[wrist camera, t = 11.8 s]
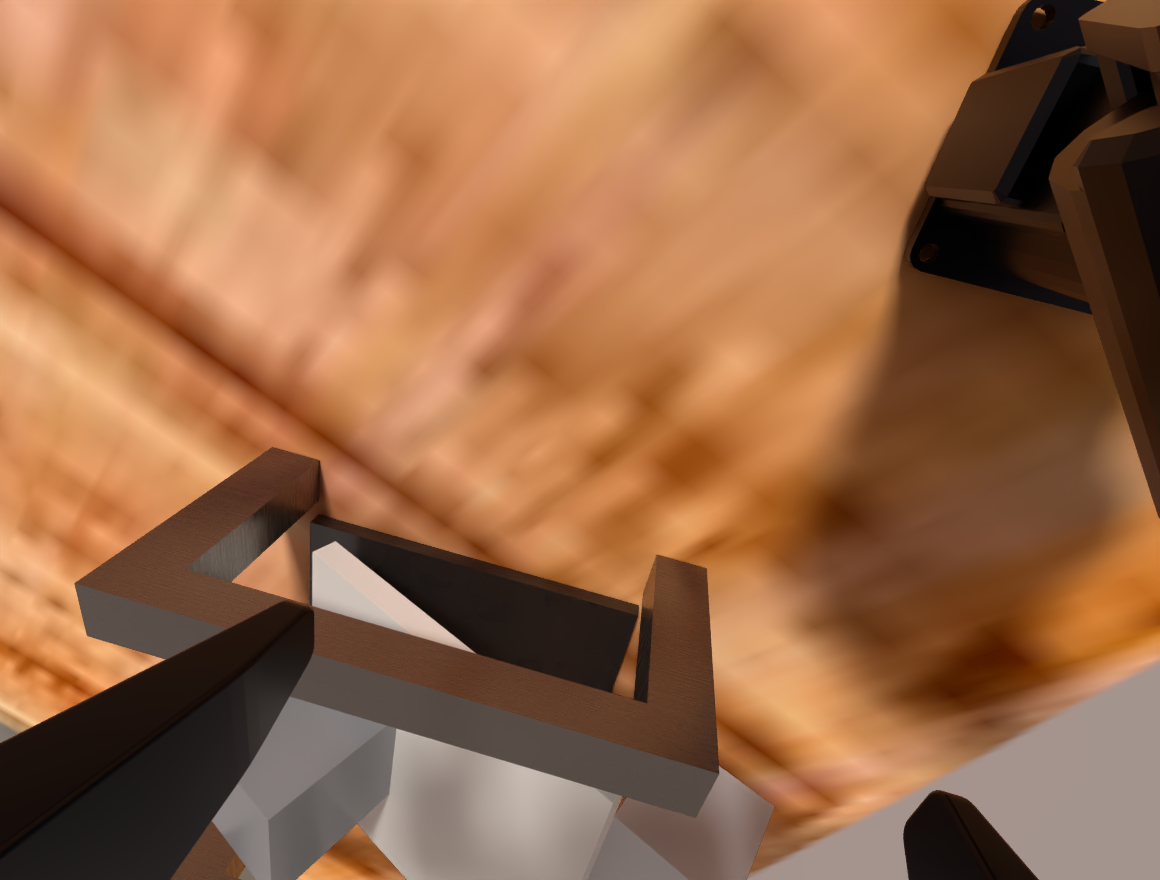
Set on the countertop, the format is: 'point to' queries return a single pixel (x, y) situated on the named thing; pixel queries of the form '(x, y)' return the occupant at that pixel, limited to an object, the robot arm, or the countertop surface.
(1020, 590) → the countertop surface
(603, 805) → the trapdoor
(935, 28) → the countertop surface
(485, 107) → the countertop surface
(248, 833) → the grey matte cube
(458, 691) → the frame
